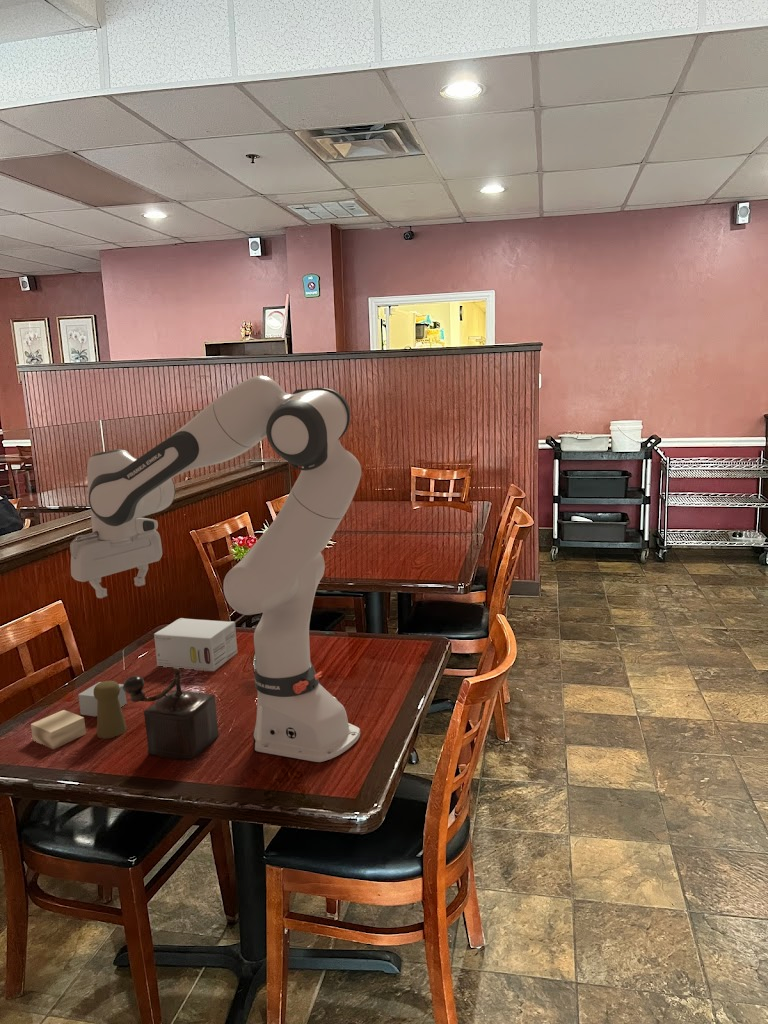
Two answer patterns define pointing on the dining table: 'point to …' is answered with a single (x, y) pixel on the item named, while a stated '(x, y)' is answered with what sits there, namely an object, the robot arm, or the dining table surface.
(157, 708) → the pepper mill
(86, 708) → the grey block
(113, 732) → the cork
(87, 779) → the dining table surface
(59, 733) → the maple block
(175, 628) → the supplement box
